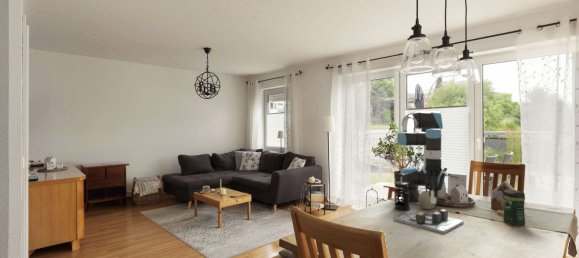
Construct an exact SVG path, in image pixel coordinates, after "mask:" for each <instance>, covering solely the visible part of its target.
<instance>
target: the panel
mask: <svg viewBox="0 0 579 258" xmlns="http://www.w3.org/2000/svg"><path fill="white" fill-rule="evenodd" d="M418 213H423V214H425V222H423V223H418V222H416V214H418ZM432 214H433V213H429V212H428V211H427V212H426V211H422V210H417V209H413V210H409V212H408V211H407V212H405V213H402V214H400V215H398V216H394V217H393V221H394V220H395V222H397V221H399V222H398V223H401V222H403V223H402V224H405V223H407V224H406V225H409V224H410V225H409V226H412V225H414V226H413V227H416V226H417V227H416V228H420V227H421V228H420V229H423V228H424V230H427V229H428V231H430V232H431V231H432V232H435V233H438V234H441V235H445V234H446V233H449V232H450V231H452V230H454V229H456V228H458V227H460V226H462V225H464V220H461V219H458V218H452V217H449V216H448V218H446V219H441V221H440V222H434V221H432Z"/></svg>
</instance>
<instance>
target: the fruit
mask: <svg viewBox="0 0 579 258" xmlns="http://www.w3.org/2000/svg"><path fill="white" fill-rule="evenodd" d="M424 189H425V190H424ZM421 190H424V191H421ZM420 191H421V192H420ZM418 192H419V194H420V195H419V198H418V200H419V202H418V203H419V206H420V207H421V208H423V209H425V210H432V209H434V208H435V207H436V205H437V202H436V203H434V204H432V203H431V196H429V190H428V189H426V188H425V187H422V188H421V189H418Z"/></svg>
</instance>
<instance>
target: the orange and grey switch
mask: <svg viewBox="0 0 579 258" xmlns="http://www.w3.org/2000/svg"><path fill="white" fill-rule="evenodd" d="M416 222H418V223H423V222H425V214H423V213H418V214H416Z"/></svg>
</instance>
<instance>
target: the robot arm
mask: <svg viewBox="0 0 579 258" xmlns="http://www.w3.org/2000/svg"><path fill="white" fill-rule="evenodd" d="M443 125H444V124H443V119H442V113H441V111H437V110H436V111H435V110H430V111H413V112H410V113H408V114H406V115H405V116H404V117H403V118H402V120H401V127H402V129H401V130H402V131H399V132H397V134H396V135H397V139H396V140H397V142H396V143H397V145H398V146H422V147H423V165H422V166H421V167H420V169H419V168H418V167H417V166H411V167H403V168H402V169H401V170H400V173H403V174H405V175H402V182H407V183H409V184H408V187H406V188H402V189H406V190H409V203H419V200H418V198H419V195H420V191H419V187H424V188H426V189H427V190H428V191H429V196H431V203H432V204H434V203H436V204H437V198H438V196H439V191H442V189H443V186H444V181H445V178H446V176H447V175H448V173H447V172H446V171H444V170H443V169H442V159H441V158H442V136H443V135H442V129H443V128H444V126H443ZM416 130H421V131H420V132H419V131H416ZM426 189H425V190H426ZM418 191H419V192H418ZM400 192H401V191H400ZM402 192H406V191H402ZM400 197H401V194H400ZM402 198H403V194H402Z"/></svg>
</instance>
